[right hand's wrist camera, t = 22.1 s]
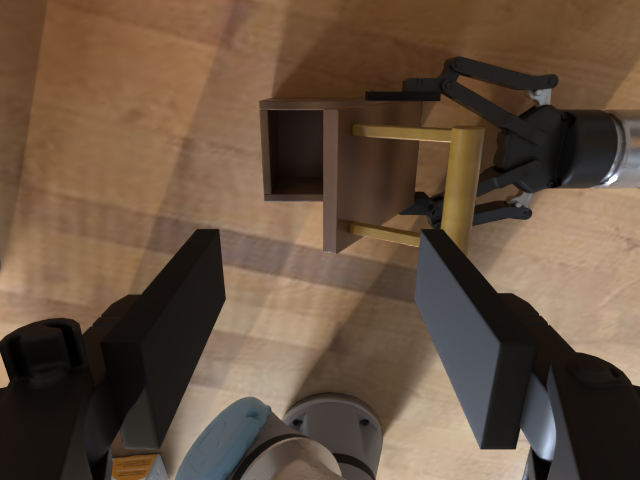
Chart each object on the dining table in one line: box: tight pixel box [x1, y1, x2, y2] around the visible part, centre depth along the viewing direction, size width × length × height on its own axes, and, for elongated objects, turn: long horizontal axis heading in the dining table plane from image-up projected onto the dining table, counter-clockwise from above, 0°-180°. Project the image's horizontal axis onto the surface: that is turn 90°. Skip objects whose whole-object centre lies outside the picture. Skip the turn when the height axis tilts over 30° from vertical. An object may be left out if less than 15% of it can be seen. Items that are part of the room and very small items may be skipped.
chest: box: [259, 98, 407, 202], centre depth 41 cm, size 14×9×9 cm, turn 90°
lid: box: [323, 101, 485, 257], centre depth 29 cm, size 14×9×9 cm
